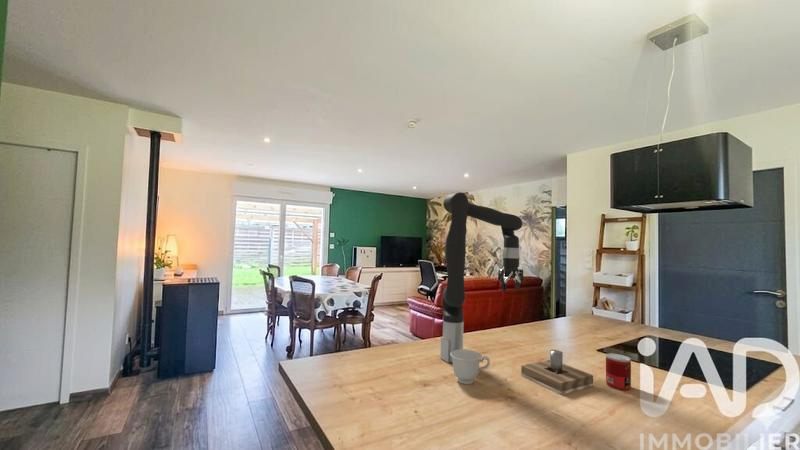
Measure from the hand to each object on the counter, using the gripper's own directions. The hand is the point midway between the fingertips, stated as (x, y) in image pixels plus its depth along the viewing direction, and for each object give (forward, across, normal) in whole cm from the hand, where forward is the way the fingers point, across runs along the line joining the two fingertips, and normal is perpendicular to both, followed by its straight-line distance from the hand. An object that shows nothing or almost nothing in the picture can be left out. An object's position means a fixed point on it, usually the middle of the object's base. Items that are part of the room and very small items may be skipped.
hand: (510, 290), depth 160 cm
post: (+29, -6, -30) cm, 42 cm away
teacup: (+30, -38, -17) cm, 51 cm away
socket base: (+30, -6, -30) cm, 43 cm away
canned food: (+30, +12, -43) cm, 54 cm away
